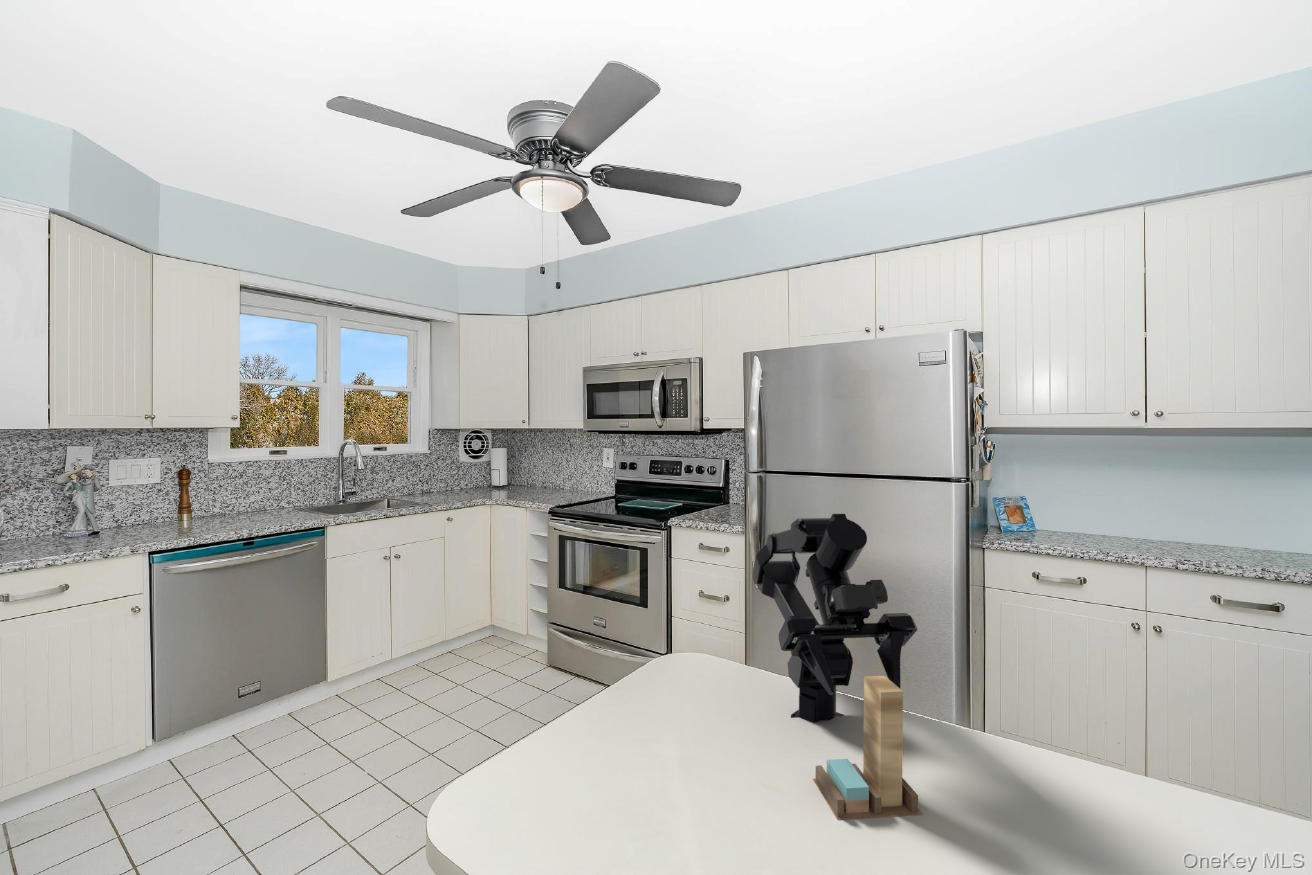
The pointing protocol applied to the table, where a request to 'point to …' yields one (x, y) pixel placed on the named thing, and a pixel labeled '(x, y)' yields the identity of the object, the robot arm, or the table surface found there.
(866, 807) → the offcut lower
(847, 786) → the offcut upper
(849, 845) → the table surface
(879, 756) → the oak board
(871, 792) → the rack
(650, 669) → the table surface
